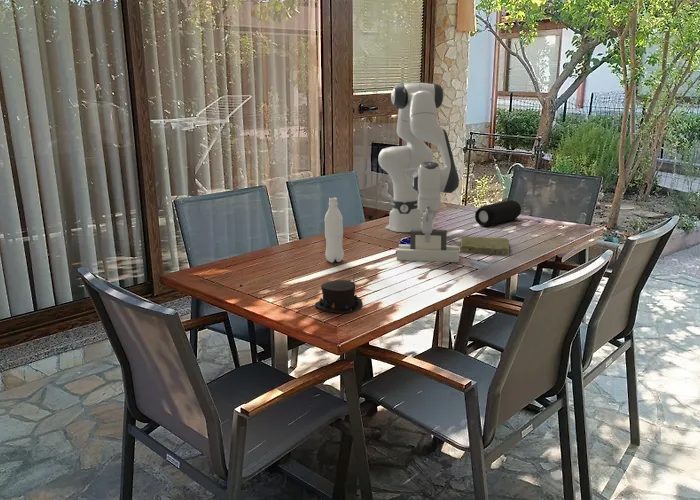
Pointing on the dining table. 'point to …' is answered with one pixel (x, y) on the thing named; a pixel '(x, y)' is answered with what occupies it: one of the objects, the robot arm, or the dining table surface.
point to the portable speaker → (497, 213)
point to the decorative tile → (484, 245)
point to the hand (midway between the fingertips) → (428, 239)
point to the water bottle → (333, 232)
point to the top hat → (339, 297)
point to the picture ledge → (428, 254)
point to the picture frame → (436, 240)
